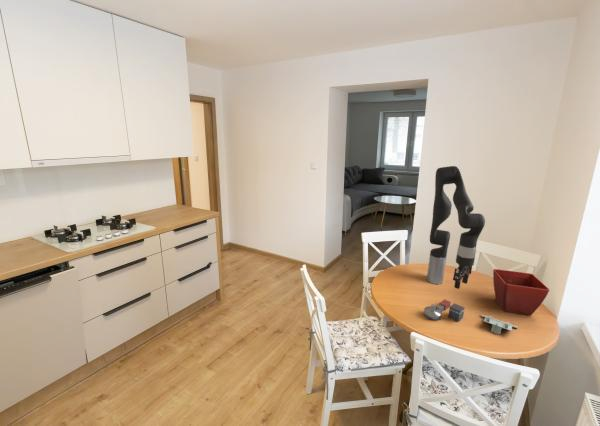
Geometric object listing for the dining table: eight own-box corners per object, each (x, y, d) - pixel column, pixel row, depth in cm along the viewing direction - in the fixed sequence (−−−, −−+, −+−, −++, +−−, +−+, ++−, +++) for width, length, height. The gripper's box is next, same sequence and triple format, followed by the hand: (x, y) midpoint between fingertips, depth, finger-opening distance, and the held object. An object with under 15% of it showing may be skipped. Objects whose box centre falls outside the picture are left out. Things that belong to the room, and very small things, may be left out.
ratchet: (439, 302, 163) (441, 292, 161) (454, 308, 157) (456, 298, 155) (420, 315, 150) (421, 304, 149) (435, 322, 145) (437, 311, 143)
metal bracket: (517, 328, 132) (479, 315, 141) (514, 341, 132) (476, 327, 142) (518, 322, 144) (482, 311, 153) (515, 334, 144) (480, 321, 153)
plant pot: (526, 300, 166) (532, 273, 162) (542, 320, 148) (550, 290, 144) (487, 295, 171) (492, 268, 167) (499, 313, 153) (505, 284, 149)
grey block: (452, 313, 152) (454, 303, 151) (462, 318, 149) (464, 307, 147) (447, 317, 149) (449, 306, 148) (458, 322, 145) (460, 311, 144)
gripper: (464, 248, 148) (459, 278, 152) (451, 255, 139) (446, 286, 143) (480, 253, 142) (474, 284, 146) (467, 260, 133) (462, 293, 137)
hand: (460, 285), depth 144 cm, fingers open, 8 cm apart
